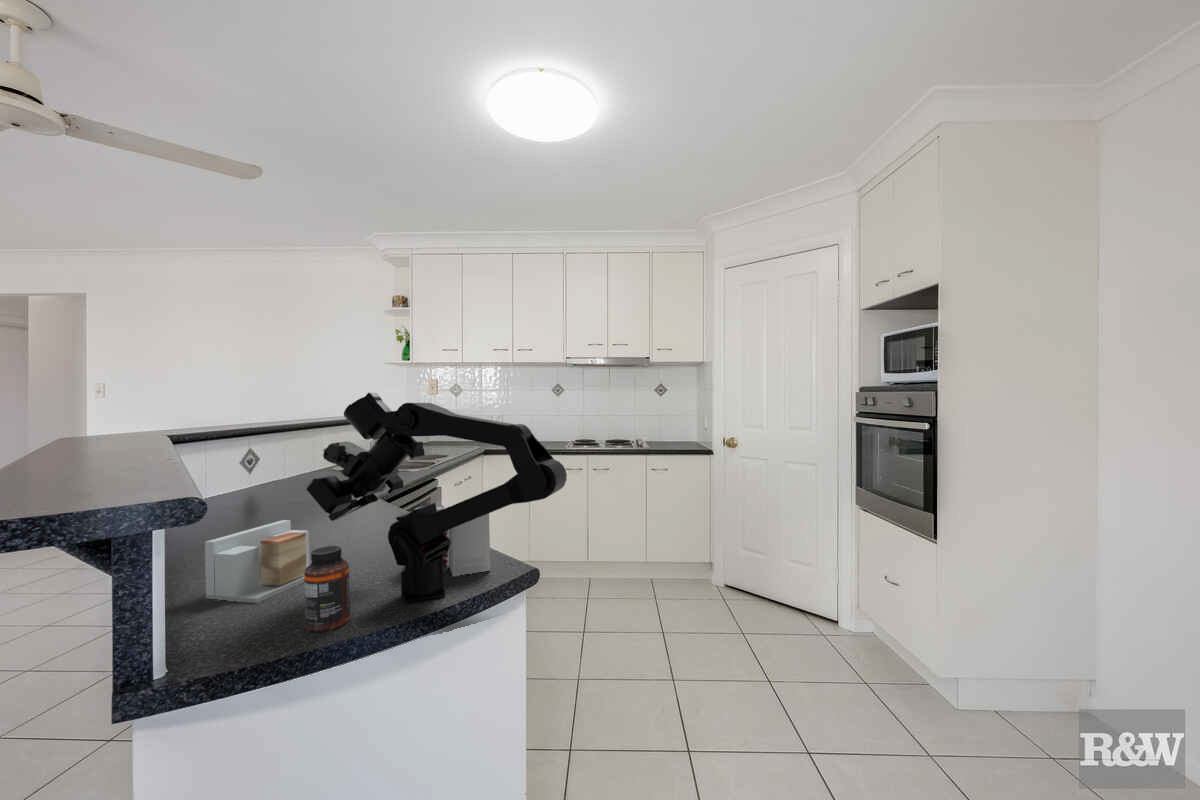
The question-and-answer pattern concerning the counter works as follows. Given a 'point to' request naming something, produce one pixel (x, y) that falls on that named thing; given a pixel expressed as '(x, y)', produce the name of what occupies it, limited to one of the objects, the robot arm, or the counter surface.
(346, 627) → the counter surface
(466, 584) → the counter surface
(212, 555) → the mount
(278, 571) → the push block
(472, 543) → the supplement box
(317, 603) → the supplement bottle
